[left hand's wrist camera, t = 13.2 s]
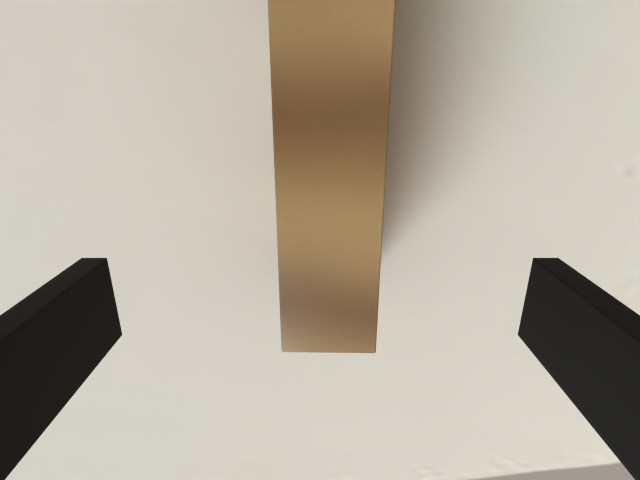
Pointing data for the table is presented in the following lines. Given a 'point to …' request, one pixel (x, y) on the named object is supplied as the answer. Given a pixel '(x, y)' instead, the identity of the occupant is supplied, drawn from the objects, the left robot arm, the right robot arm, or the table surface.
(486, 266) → the table surface
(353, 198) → the beam
